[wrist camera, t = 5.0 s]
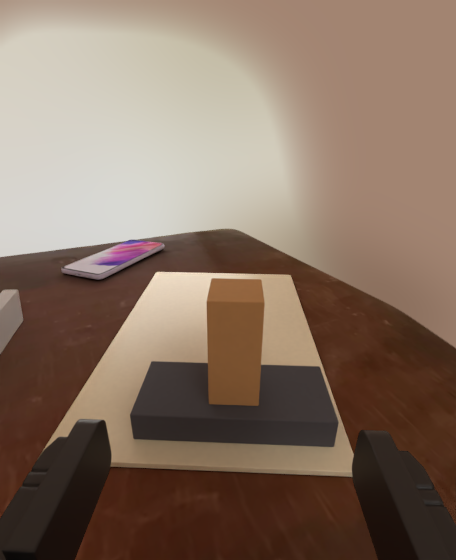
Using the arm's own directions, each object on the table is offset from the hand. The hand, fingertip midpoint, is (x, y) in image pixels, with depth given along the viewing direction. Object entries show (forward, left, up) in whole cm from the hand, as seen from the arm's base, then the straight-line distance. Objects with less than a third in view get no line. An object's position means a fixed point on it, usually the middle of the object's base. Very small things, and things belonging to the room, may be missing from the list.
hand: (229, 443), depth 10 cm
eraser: (0, -9, -8) cm, 12 cm away
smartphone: (+18, -38, -8) cm, 43 cm away
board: (+2, -19, -8) cm, 21 cm away
